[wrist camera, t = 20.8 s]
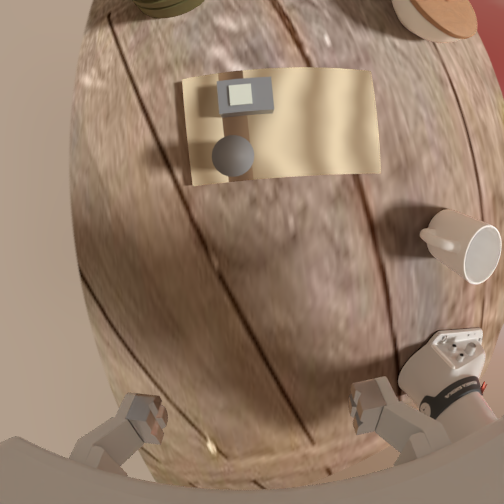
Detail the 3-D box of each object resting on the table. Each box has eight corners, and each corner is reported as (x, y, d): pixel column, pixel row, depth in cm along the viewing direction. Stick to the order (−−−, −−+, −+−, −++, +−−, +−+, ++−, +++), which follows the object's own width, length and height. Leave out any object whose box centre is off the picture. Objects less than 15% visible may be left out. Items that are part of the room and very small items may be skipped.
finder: (269, 83, 29) (271, 75, 26) (272, 113, 30) (274, 108, 27) (219, 87, 29) (216, 80, 26) (222, 117, 31) (218, 113, 28)
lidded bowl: (383, -23, 22) (411, -54, 12) (446, 15, 24) (483, -5, 13) (374, 26, 26) (408, -5, 16) (442, 66, 28) (486, 51, 17)
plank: (366, 73, 29) (370, 71, 28) (376, 172, 34) (380, 173, 33) (184, 82, 30) (182, 79, 29) (195, 185, 35) (192, 186, 33)
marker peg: (252, 139, 32) (252, 133, 23) (255, 169, 33) (256, 174, 24) (222, 142, 32) (209, 137, 23) (225, 172, 33) (214, 178, 24)
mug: (399, 252, 38) (436, 281, 28) (412, 198, 35) (454, 214, 25) (453, 260, 38) (490, 285, 28) (465, 213, 35) (507, 230, 26)
